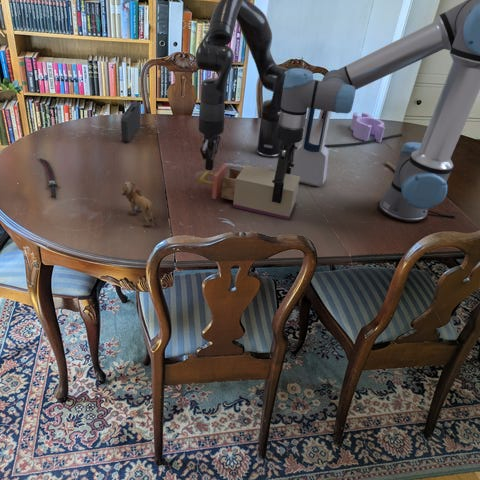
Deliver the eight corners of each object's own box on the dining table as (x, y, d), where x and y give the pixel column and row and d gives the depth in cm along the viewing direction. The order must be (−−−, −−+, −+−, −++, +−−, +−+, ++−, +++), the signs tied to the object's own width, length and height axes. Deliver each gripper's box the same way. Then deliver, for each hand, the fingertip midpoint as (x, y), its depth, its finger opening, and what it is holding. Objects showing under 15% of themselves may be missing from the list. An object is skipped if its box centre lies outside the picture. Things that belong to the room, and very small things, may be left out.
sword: (61, 197, 141) (61, 193, 140) (50, 198, 139) (50, 194, 139) (49, 160, 164) (48, 156, 163) (39, 160, 163) (39, 157, 162)
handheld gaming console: (134, 123, 200) (133, 100, 195) (140, 124, 200) (140, 100, 195) (121, 142, 181) (119, 117, 175) (128, 143, 181) (127, 118, 175)
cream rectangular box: (232, 206, 146) (235, 178, 141) (242, 191, 155) (245, 164, 150) (288, 219, 143) (293, 191, 137) (295, 203, 152) (300, 176, 147)
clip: (343, 126, 223) (346, 112, 219) (367, 127, 225) (371, 113, 221) (360, 142, 206) (364, 127, 202) (386, 142, 209) (390, 127, 205)
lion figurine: (118, 210, 138) (116, 182, 133) (132, 204, 141) (131, 177, 137) (151, 229, 130) (150, 201, 126) (165, 223, 134) (165, 195, 129)
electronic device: (325, 180, 169) (342, 97, 152) (321, 188, 163) (339, 103, 146) (292, 173, 172) (306, 91, 155) (287, 181, 165) (301, 96, 149)
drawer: (195, 194, 148) (197, 172, 144) (206, 181, 156) (207, 160, 152) (262, 209, 144) (265, 187, 140) (269, 196, 152) (273, 174, 148)
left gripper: (207, 107, 145) (204, 159, 154) (192, 120, 134) (190, 175, 143) (230, 111, 143) (226, 163, 153) (217, 125, 132) (213, 180, 142)
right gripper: (286, 112, 144) (276, 176, 156) (269, 136, 124) (259, 208, 136) (309, 116, 143) (298, 181, 154) (296, 141, 123) (284, 213, 135)
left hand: (209, 169), depth 148 cm, fingers closed
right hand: (280, 193), depth 145 cm, fingers closed on cream rectangular box, 11 cm apart
